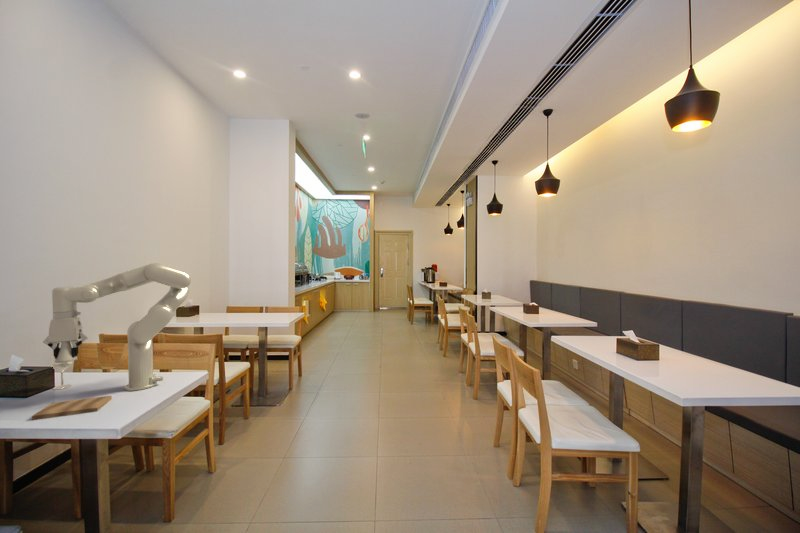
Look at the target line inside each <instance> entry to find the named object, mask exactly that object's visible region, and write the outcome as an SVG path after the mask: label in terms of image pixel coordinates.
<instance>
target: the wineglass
mask: <svg viewBox="0 0 800 533" xmlns="http://www.w3.org/2000/svg"><path fill="white" fill-rule="evenodd" d="M73 363H74V361H71V362H65V363H55V356H54V353H53V352H52V354H51V357H50V361H49V365H50V367H51V368H52V367H53V368H52V369H54V370H55V371H58V372H59V373H60V385H57V386H55V387H53V388H52V389H53V390H62V389H67V388H70V387H71V386H72V384H64V372H65V371H66V370H67V369H68V368H70V367H71V366H72V364H73Z"/></svg>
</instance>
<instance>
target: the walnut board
mask: <svg viewBox="0 0 800 533" xmlns="http://www.w3.org/2000/svg"><path fill="white" fill-rule="evenodd" d="M112 397H113V396H112V395H106V396H104V395H103V396H98V397H89V398H81V399H73V400H65V401H56V402H51V403H50V404H48V405H47V406H45V407H44V408H42V409H41V410H39V411H37V412H36V413H34V414H33V415H31V421H34V420H35V421H36V420H42V419H49V418H50V419H51V418H57V417H65V416H73V415H80V414H86V413H95V412H98V411H99V410H100V409H101V408H103V407H104V406H105V405H106V404H108V403H109V402H110V401H111V400H112Z"/></svg>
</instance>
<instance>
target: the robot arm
mask: <svg viewBox="0 0 800 533" xmlns="http://www.w3.org/2000/svg"><path fill="white" fill-rule="evenodd" d="M153 282H156V283H158V284H161V285H166V286H168V287H169V286H170V288H169V291H168V292H167V293H166V294H165V295H164V296H163V297H161V299H159V300H158V301H157V302H156V303H155V304H154V305H152V306H151V307H150V308H149V310H148V311H147V313H146V315H145V316H143V317H142V318H141V319H140V320H137V321H134V322H132V323H131V324H130V325H129V326H128V328H127V332H126V334H127V352H128V353H127V355H128V356H127V358H128V360H127V365H128V366H127V367H128V384H126V385H125V386H124V390H125V391H132V392H133V391H142V390H146V389H149V388H153V387H155V386H157V384H158V382H163V381H164V376H162V375H159V376H156V374H155V373H154V365H153V364H154V361H153V360H154V358H153V357H154V355H153V352H154V350H153V348H154V347H153V345H154V344H153V339H154V337H156V336H157V335H158V334H159V333H160V332H161V331H162V330H163V329H164V328H165V327H167V325H168V324H169V323H170V322H171V320H172V319H173V316H174V315H173V314H174V312H176V311H177V309H178V308H179V307H180V306H181V305H183V303H184V302H185V301H186V299H187V298H188V295H189V293H190V285H191V283H192V277H191V276H190V274H189V273H187V272H184V271H181V270H178V269H175V268H173V267H168V266H166V265H163V264H162V263H161V264H160V263H155V262H154V263H149V264H146V265H142V266H139V267H137V268H132V269H130V270H126V271H123V272H121V273H117V274H116V275H113V276H111V277H107V278H105V279H102V280H99V281H95V282H92V283H89V284H85V285H82V286H75V287H74V286H59V287H54V288H53V289H52V290H51V294H52V296H51V299H52V302H51V303H52V318H51V320H50V323H49V327H48V336H47V337H45V339H44V340H43V341H42V343H43V344H45V345H47V346H48V347H49V348H51V350H53V351H52V354H53V353H54V356H55V359H57V356H58V353H59V350H60V348H61V347H60V346H61V342H68V341H70V344H71V346H72V357H75V356H77V357H78V354H79V347H80V346H81V345H82V344H83V343H84V342H86V340H88V337H87V335H85V334H84V333H83V326H82V321H81V318H80V317H79V316H81V315H82V313H81V311H78V310H77V309H78V308H77V307H78V305H77V303H86V304H88V303H93V302H94V301H96V300H98V299H100V298H103V297H106V296H110V295H112V294H115V293H120V292H126V291H129V290H132V289H135V288H138V287H141V286H144V285H147V284H150V283H153Z"/></svg>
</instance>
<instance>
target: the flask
mask: <svg viewBox="0 0 800 533" xmlns="http://www.w3.org/2000/svg"><path fill="white" fill-rule="evenodd" d="M59 348H60V350H59V353H58V356H57V359H55V363H65V362H71V361H73V362H74V361H78V360H79V358H78V355H77V356H75V357H72V348H73V346H72V343H71V341H68V342H60V347H59Z"/></svg>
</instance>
